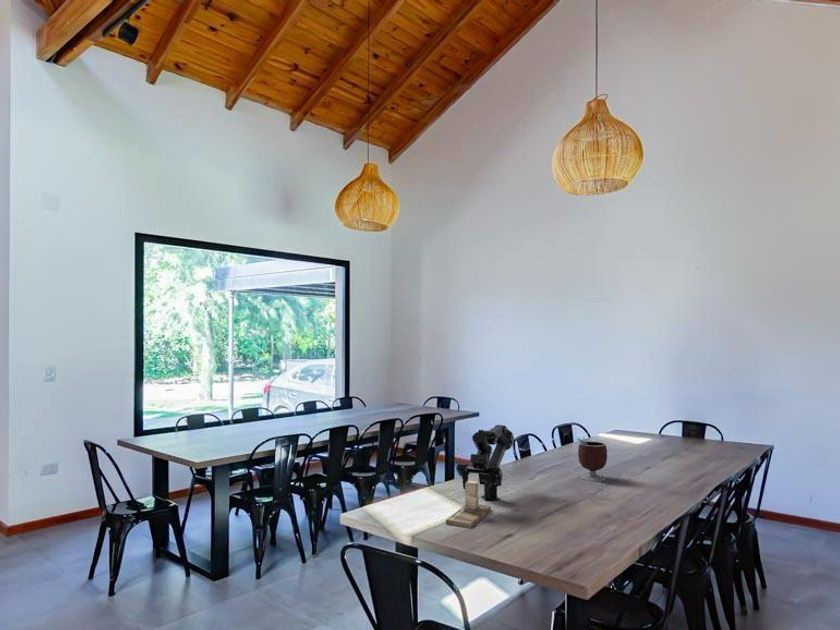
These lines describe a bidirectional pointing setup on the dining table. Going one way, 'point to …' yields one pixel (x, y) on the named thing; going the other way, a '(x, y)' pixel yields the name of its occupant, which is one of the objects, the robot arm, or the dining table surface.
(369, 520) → the dining table surface
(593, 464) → the mate gourd
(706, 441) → the dining table surface
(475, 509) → the tall beige pillar block
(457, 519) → the walnut board
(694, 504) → the dining table surface
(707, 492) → the dining table surface
